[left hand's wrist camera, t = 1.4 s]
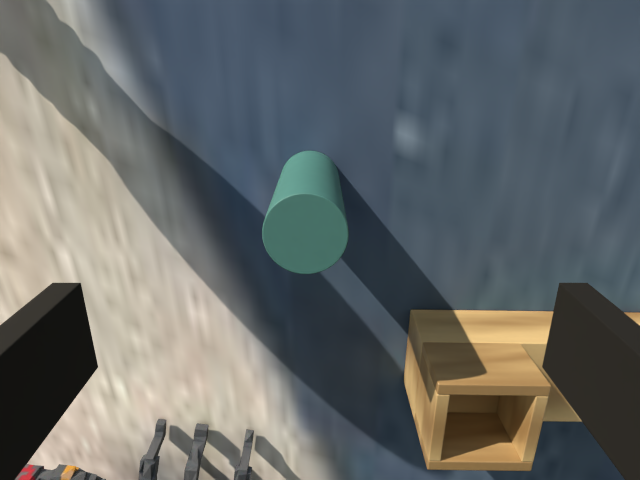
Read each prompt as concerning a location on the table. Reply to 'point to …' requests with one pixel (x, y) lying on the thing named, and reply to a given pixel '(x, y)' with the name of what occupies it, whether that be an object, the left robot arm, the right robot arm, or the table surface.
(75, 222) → the table surface
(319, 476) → the table surface
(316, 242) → the peg
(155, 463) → the toy
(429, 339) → the peg board
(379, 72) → the table surface
